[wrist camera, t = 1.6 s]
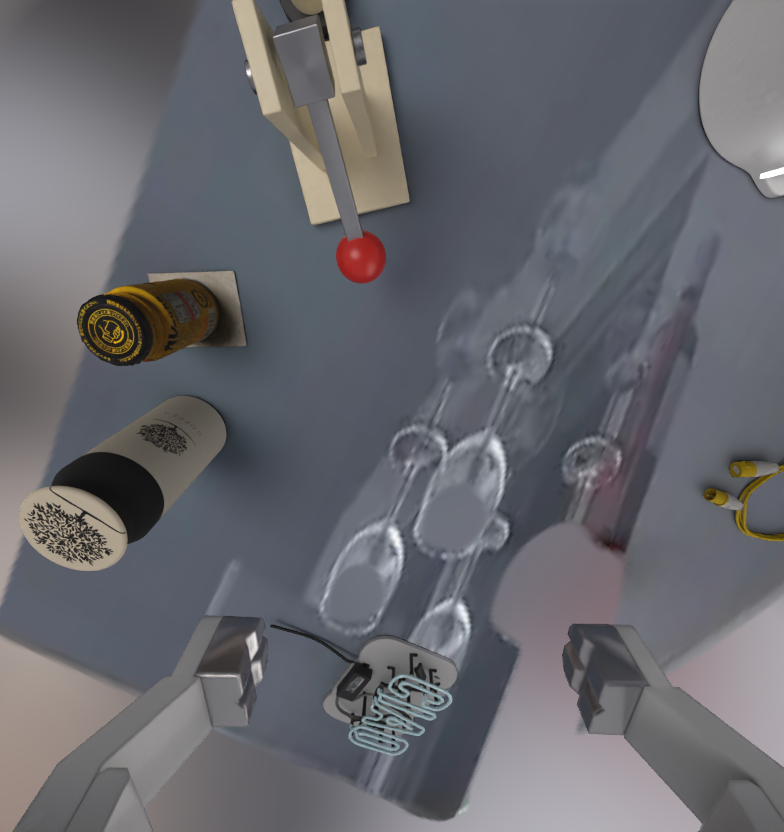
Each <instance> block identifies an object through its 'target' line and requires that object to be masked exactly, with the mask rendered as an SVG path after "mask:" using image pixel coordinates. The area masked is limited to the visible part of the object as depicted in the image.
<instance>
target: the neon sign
mask: <svg viewBox="0 0 784 832" xmlns="http://www.w3.org/2000/svg"><path fill="white" fill-rule="evenodd" d="M270 627H272V628H276V629H280V630H283V631H287V632H291V633H294V634H298V635H301V636H305V637H307V638H310V639H313V640H315V641H317V642H319V643H321V644H322V645H324V646H326V647H327V648H329V649H330V650H331V651H333V652H334V653H335V654H337V655H338V656H339V657H341V658H342V659H343V660H345V661H346V662H348V663H351V664H350V666H349V667H348V668H347V669H346V671H345V672H344V673H343V674H342V676H341V677H340V678H339V680H338V681H337V682H336V684H335V685H334V687H333V689H332V691H331V692H329V693H328V694H327V695H326V697H325V699H324V703H323V706H324V709H325V711H326V712H327V713H328V714H329V715H331V716H332V717H334V718H336V719H338V720H341V721H344V722H346V723H349V724H350V731H349V737H348V738H349V739H350V741H352V742H353V743H354V744H356V745H358V746H362V747H365V748H368V749H371V750H375V751H378V752H381V753H385V754H388V755H392V756H394V755H399V754H401V753H403V752H404V751H405V750H406V749H407V748H408V742H407V741H406V740H405V739H403V738H401V737H398V736H397V735H400V734H403V733H404V734H405V733H406V734H410V735H415V736H420V735H421V734H423V733H424V731H425V729H424V727H423V726H421V725H419V724H417V723H415V722H414V721H413V717H421V718H423V719H426V720H434V719H435V718H436V714H435V713H434V712H432V711H441V710H443V709H445V708H447V707H448V706H449V705H450V704H451V703H452V696H451V694H450V693H449V692H448V691H447V690H446V689H447V688H449V687H450V686H452V685H453V684H454V682H455V681H456V679H457V670H456V666H455V664H454V663H453V662H452V661H451V660H449V659H448V658H446V657H444V656H441V655H439V654H436V653H434V652H431V651H429V650H426V649H424V648H422V647H419V646H417V645H414V644H412V643H409V642H407V641H405V640H402V639H400V638H397V637H394V636H387V635H384V636H378V637H374V638H372V639H371V640H369V641H368V642H367V643H365V644H364V646H363V647H362V649H361V651H360V654H359V656H358V657H357V658H356V659H355V660H354V661H351V660H349V659H347V658H346V657H344V656H343V655H342V654H340V653H339V652H337V651H336V650H335V649H333V648H332V647H331V646H329V645H328V644H326V643H325V642H323V641H321V640H319V639H317V638H315V637H313V636H310V635H308V634H305V633H301V632H298V631H294V630H290V629H287V628H283V627H280V626H276V625H271V626H270ZM442 693H445V694H446V695H447V696H448V697H449V701H448V702H447V703H446V704H445V705H443V706H441V707H438V706H439V705H440V704H442V703H443V702H444V699H443V697H442V696H441V694H442ZM438 698H439V699H440V700H439V701H438ZM430 703H431V704H434V706H435V707H432V706H429V705H430ZM427 709H429V710H427ZM430 710H432V711H430ZM424 712H425V713H427V714H430V715H432V716H431V717H429V716H426V715H423V713H424ZM353 725H355V726H356V727H354V728H353ZM413 725H414V726H416V727H418V728H420V729H422V730H421V731H420V732H413V731H408V730H409V729H410V730H413ZM361 728H363V729H366V730H369V731H371V732H374V733H377V734H379V736H377V735H374V734H371V733H368V732H361ZM357 729H358V734H357ZM354 731H355V735H356V739H358V740H360V741H363V742H366V743H369V744H372V745H375V746H378V747H380V748H384V749H387V750H390V751H392V752H390V751H387V750H383V749H380V748H377V747H374V746H370V745H367V744H364V743H361V742H357V741H356V740H354V739H353V737H352V735H353V732H354ZM358 735H364V736H368V737H371V738H374V739H378V740H379V743H378V742H375V741H372V740H369V739H366V738H363V737H359V736H358ZM383 735H384V736H387V737H390V738H392V740H390V739H387V738H384V737H383ZM395 739H396V740H399V741H402V742H404V743H405V747H404V748H403V749H401V750H400V751H397V752H395V751H396V750H397V749H399V747H400V746H399V743H398V742H396V741H395ZM383 741H384V742H387V743H391V744H392V747H390V746H387V745H384V744H382V743H383ZM395 745H396V747H395Z"/></svg>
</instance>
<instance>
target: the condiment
mask: <svg viewBox="0 0 784 832" xmlns="http://www.w3.org/2000/svg"><path fill="white" fill-rule="evenodd" d="M148 278H149V281H150V282H149V283H144V284H136V285H135V284H134V285H127V286H121V287H118V288H116V289H113V290H112V291H110V292H108V293H107V294H104V295H103V294H102V295H98V296H95V297H93V298H91V299H90V300H88V301H87V302H86V303H84V304H83V305H82V306H81V307H80V310H79V313H78V317H77V325H78V330H79V333H80V336H81V339H82V342H84V343H85V345H86V346H87V348H88V349H89V350H90V351H91V352H92V353H93V354H94V355H96V356H97V357H98V358H99V359H101V360H103V361H105V362H108V363H111V364H113V365H117V366H129V365H134V364H139V363H140V362H141V361H143V362H148V361H156V360H158V359H161V358H163V357H165V356H168V355H170V354H172V353H174V352H176V351H178V350H180V349H183V348H185V347H225V346H246V339H245V332H244V326H243V319H242V313H241V308H240V301H239V297H238V292H237V285H236V281H235V275H234V271H218V272H189V273H160V274H148Z"/></svg>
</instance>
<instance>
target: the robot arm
mask: <svg viewBox="0 0 784 832" xmlns="http://www.w3.org/2000/svg"><path fill="white" fill-rule="evenodd" d="M699 106H700V114H701V120H702V124H703V127H704V130H705V133H706V135H707V137H708V139H709V141H710V143H711V144H712V146H713V147H714V148H715V150H716V151H717V152H718V153H719V154H720V155H721V156H722V157H723V158H724V159H726V160H727V161H729V162H730V163H732V164H734V165H736V166H738V167H740V168H742V169H743V170H745V171H747V172H748V173H749V174H750V175H751V177H752V178H753V180H754V182H755V184H756V186H757V187H758V189H759V190H760V192H761V193H762V194H763V195H764V196H766V197H768V198H775V197H779V196H783V195H784V0H733V1H732V3H731V4H730V6H729V7H728V9H727V10H726V12H725V14H724V15H723V17H722V19H721V21H720V22H719V24H718V26H717V28H716V30H715V32H714V35H713V37H712V39H711V42H710V44H709V47H708V50H707V53H706V56H705V60H704V63H703V68H702V72H701V79H700V87H699ZM264 630H265V621H264V618H255V617H235V616H209V615H206V616H205V617H204V618H203V619H202V620H201V621H200V622H199V624H198V626H197V628H196V630H195V632H194V634H193V636H192V637H191V639H190V641H189V643H188V645H187V647H186V649H185V651H184V653H183V654H182V656H181V658H180V660H179V662H178V664H177V666H176V668H175V670H174V672H173V673H172V675H171V676H165V677H164V678H162V679H161V680H160V681H159V682H157V683H156V684H155V685H154V686H152V687H151V688H150V689H149V690H148V691H146V692H145V693H144V694H143V695H141V696H140V697H139V698H138V699H136V700H135V701H134V702H133V703H132V704H130V705H129V706H128V707H127V708H125V709H124V710H123V711H122V712H120V713H119V714H118V715H117V716H116V717H114V718H113V719H112V720H111V721H109V722H108V723H107V724H106V725H104V726H103V727H102V728H101V729H100V730H98V731H97V732H96V733H95V734H94V735H92V736H91V737H90V738H89V739H87V740H86V741H85V742H84V743H82V744H81V745H80V746H79V747H77V748H76V749H75V750H74V751H72V752H71V753H70V754H69V755H68V756H66V757H65V758H64V759H63V760H61V761H60V762H59V763H58V764H57V765H56V767H55V768H54V770H53V771H52V773H51V775H50V776H49V777H48V779H47V780H46V782H45V783H44V785H43V786H42V788H41V790H40V791H39V792H38V794H37V795H36V797H35V799H34V800H33V802H32V803H31V804H30V806H29V807H28V809H27V810H26V812H25V814H24V815H23V816H22V818H21V820H20V821H19V823H18V824H17V826H16V827H15V829H14V830H13V832H153V829H152V826H151V824H150V822H149V819H148V817H147V815H146V812H145V809H144V808H145V807H146V806H147V805H148V804H149V803H150V801H151V800H152V799H153V798H154V797H155V796H156V794H157V793H158V792H159V791H160V790H161V789H162V787H163V786H164V785H165V784H166V783H167V782H168V780H169V779H170V778H171V777H172V776H173V775H174V774H175V772H176V771H177V770H178V769H179V768H180V767H181V765H182V764H183V763H184V762H185V761H186V759H187V758H188V757H189V756H190V755H191V753H193V751H194V750H195V749H196V748H197V746H199V744H200V743H201V742H202V741H203V740H204V739H205V737H206V736H207V735H208V734H209V733H210V732H211V730H212V727H248V724H249V720H250V717H251V714H252V711H253V708H254V705H255V701H256V698H257V697H256V690H255V686H256V685H257V684H258V683H259V682H260V681H261V680H262V679H263V675H264V672H265V668H266V663H267V657H268V641H267V639H266V638H265V637H264V636H263V633H264ZM568 635H569V638H570V640H571V641H570V642H568V643H567V644H566V645H565V646H564V650H563V654H562V656H563V668H564V672H565V675H566V678H567V681H568V683H569V685H570V687H571V688H572V689H573V690H574V691H575V692H577V693H578V694H579V699H578V702H577V706H578V708H579V711H580V713H581V716H582V718H583V720H584V723H585V725H586V728H587V730H588V733H589V734H607V735H625V736H624V738H625V739H626V740H627V741H628V742H629V743H630V745H631V746H632V747H633V748H634V749H635V750H636V751H637V752H638V753H639V754H640V756H641V757H642V758H643V759H644V760H645V761H646V762H647V763H648V764H649V766H650V767H651V768H652V769H653V770H654V771H655V772H656V773H657V774H658V775H659V776H660V778H661V779H662V780H663V781H664V782H665V783H666V784H667V785H668V786H669V787H670V788H671V790H672V791H673V792H674V793H675V794H676V795H677V796H678V797H679V798H680V799H681V801H682V802H683V803H684V804H685V805H686V806H687V807H688V808H689V809H690V810H691V811H692V813H693V814H694V815H695V816H696V817H697V818H698V819H699V820H700V821H701V823H702V825H701V827H700V829H699V830H698V832H784V767H782V766H781V765H780V764H779V763H777V762H776V761H775V760H773V759H772V758H771V757H769V756H768V755H767V754H765V753H764V752H763V751H761V750H760V749H759V748H758V747H756V746H755V745H754V744H752V743H751V742H750V741H748V740H747V739H746V738H745V737H743V736H742V735H741V734H739V733H738V732H737V731H735V730H734V729H733V728H732V727H730V726H729V725H728V724H726V723H725V722H723V721H722V720H721V719H720V718H718V717H717V716H716V715H715V714H713V713H712V712H711V711H709V710H708V709H707V708H705V707H704V706H703V705H701V704H700V703H699V702H698V701H696V700H695V699H693V698H692V697H691V696H690V695H689V694H687V693H686V692H685V691H683V690H682V689H681V688H679V687H673V686H672V685H671V683H670V682H669V680H668V679H667V677H666V675H665V674H664V672H663V671H662V669H661V668H660V666H659V665H658V663H657V662H656V660H655V659H654V657H653V655H652V654H651V652H650V651H649V649H648V648H647V646H646V645H645V643H644V642H643V640H642V639H641V637H640V635H639V634H638V632H637V631H636V629H635V628H634V627H632V626H631V625H609V624H572V625H571V626H570V628H569V631H568Z"/></svg>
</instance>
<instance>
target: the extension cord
mask: <svg viewBox="0 0 784 832" xmlns="http://www.w3.org/2000/svg"><path fill="white" fill-rule="evenodd" d="M781 471H784V464H783V465H780V466H778V464H777V463H775V462H764V461H755V460H753V461H741V462H733V463H732V464H731V465H730V473H731V475H732V476H733V477H759V478H758V479H756V480H755V481H754V482H752V483H751V484H750V485H748V486H747V487H746V488H745V489H744V490H743V492H742V493H741V495H740V497H739V500H738V499H736V498H735V497H733V496H732V495H731V494H729V493H726V492H723V491H718V490H715V489H713V488H709V489H707V490H706V491H705V492H704V495H703V496H704V498H705V499H706V500H708V501H710V502H713V503H714V504H715V505H717V506H720V507H722V508H724V509H726V508H727V509H733V510H736V514H735V520H736V524H737V526H738V528H739V529H740V530H741V531H742V532H743V533H745V534H746V535H749V536H751V537H755V538H759V539H764V540H770V541H784V533H781V534H776V535H764V534H759V533H755V532H751V531H750V530H748V528H747V526H746V508H747V501H748V498H749V496H750V495H751V493H752V492H753V491H754V490H755V489H756V488H758V487H759V486H760V485H762V484H763V483H764V482H765V481H767V480H768V479H770V478H771V477H773V476H775V475H776V474H778V473H780V472H781ZM759 481H760V482H759ZM758 482H759V483H758ZM755 484H756V485H755ZM754 485H755V486H754ZM751 487H752V488H751ZM750 488H751V489H750ZM749 489H750V490H749ZM748 490H749V491H748ZM747 491H748V493H747V494H746V492H747ZM745 494H746V496H745V498H744V502H743V503H742V501H743V497H744V495H745ZM742 508H743V517H742ZM739 520H740V522H739ZM740 523H741V525H742V527H743V528H744V529H743V528H742V527H741V525H740Z"/></svg>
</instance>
